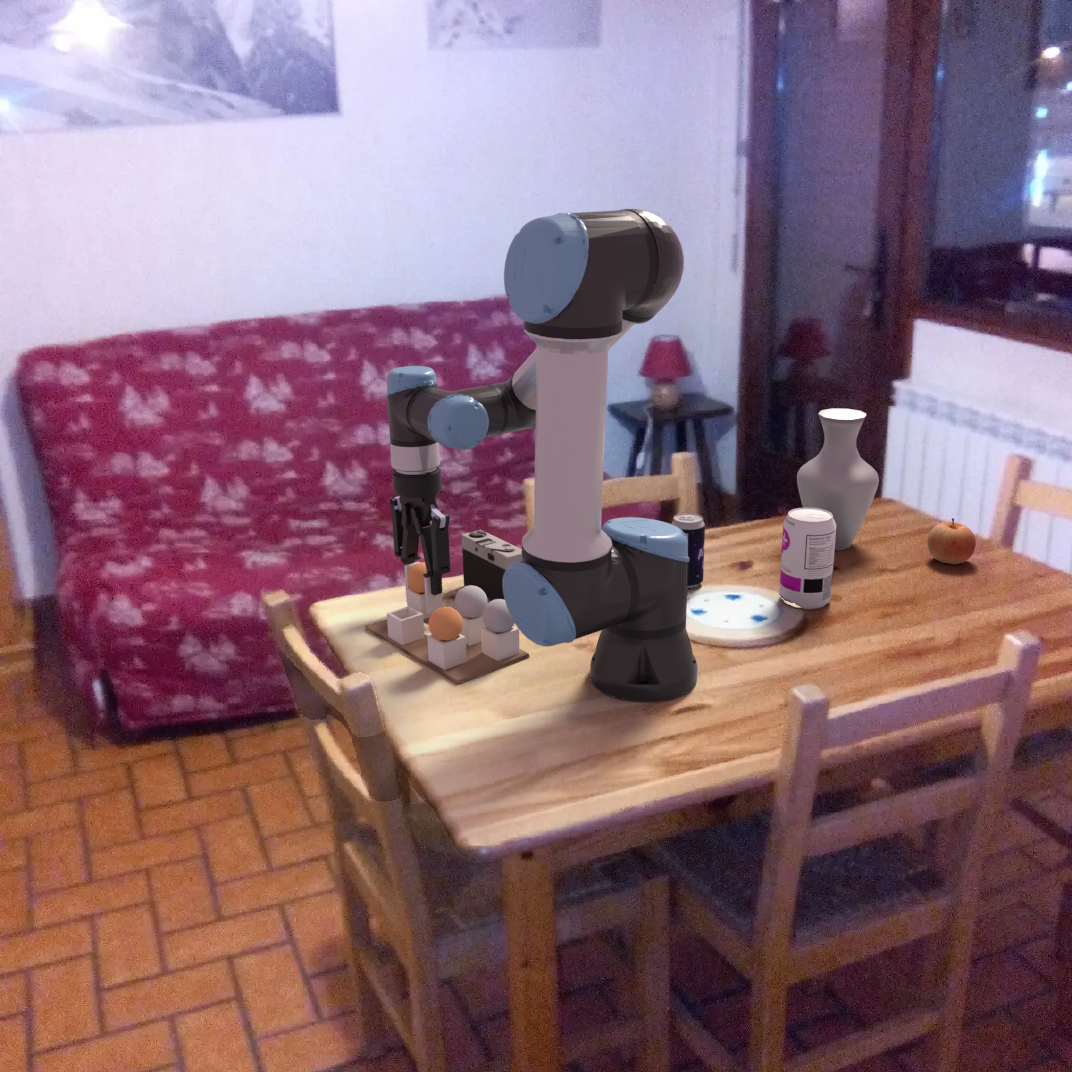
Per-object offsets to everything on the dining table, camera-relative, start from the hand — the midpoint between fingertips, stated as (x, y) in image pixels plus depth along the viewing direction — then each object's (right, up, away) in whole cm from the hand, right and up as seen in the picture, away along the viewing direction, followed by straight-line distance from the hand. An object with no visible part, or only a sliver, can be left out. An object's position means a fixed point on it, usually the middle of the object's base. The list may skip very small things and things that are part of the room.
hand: (424, 605), depth 181 cm
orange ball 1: (0, +2, -1) cm, 2 cm away
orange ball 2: (+5, -4, -18) cm, 19 cm away
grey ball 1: (+8, -1, -10) cm, 13 cm away
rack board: (+4, -5, -9) cm, 11 cm away
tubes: (+4, -5, -9) cm, 11 cm away
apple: (+91, +7, +19) cm, 93 cm away
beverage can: (+44, +3, +11) cm, 45 cm away
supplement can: (+62, 0, +3) cm, 62 cm away
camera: (+13, +1, +9) cm, 16 cm away
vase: (+73, +10, +28) cm, 79 cm away
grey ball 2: (+13, -3, -15) cm, 20 cm away
